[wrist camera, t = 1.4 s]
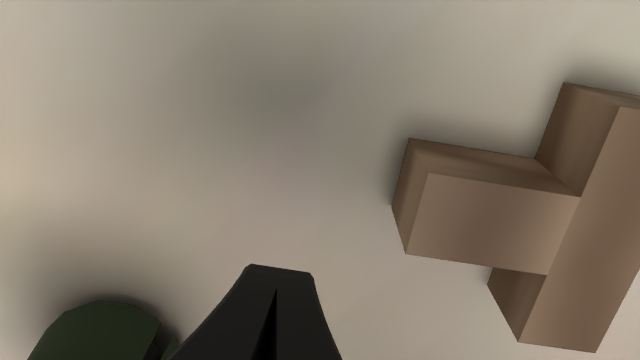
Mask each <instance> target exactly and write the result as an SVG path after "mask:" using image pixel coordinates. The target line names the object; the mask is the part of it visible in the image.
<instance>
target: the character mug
mask: <svg viewBox="0 0 640 360" xmlns="http://www.w3.org/2000/svg"><path fill="white" fill-rule="evenodd" d="M160 324H161V323H160V322H159V321H158V319H157V318H156V317H154V316H152V315H149V314H147V313H145V312H143V311H141V310H139V309H137V308H135V307H133V306H131V305H129V304H121V303H112V302H103V301H94V302H91V303H89V304H86V305H83V306H80V307H77V308H75V309H72V310H69V311H66V312H64V313H63V314H62V315H61V316H60V317H59V318H58V319H57V320H56V321H55V322H54V323H53V324H52V325H51V326H50V327H48V328H47V330H46V331H45V333H44V334H43V336H42V337H41V339H40V340H39V342H38V343H37V345H36V347H35V348H34V350H33V351H32V353H31V354H30V356H29V357H28V359H27V360H166V359H167V358H168V357H169V356H170V355H171V354H172V353H173V352H174V351H175V350H176V349H177V348H178V347H179V345H178V342H177V341H176V340H175V339H174V338H172V340H171V342H170V343H169V345H168V347H167V349H166V351H165V352H164V354H163V356H162V358H161V357H160V355H159V353H158V351H157V349H156V347H155V346H154V345H152V344H151V342H152V340H153V338H154V336H155V334H156V332H157V330H158V328H159V326H160Z"/></svg>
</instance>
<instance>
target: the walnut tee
mask: <svg viewBox="0 0 640 360" xmlns="http://www.w3.org/2000/svg"><path fill="white" fill-rule="evenodd" d="M391 208H392V211H393V214H394V218H395V221H396V224H397V228H398V231H399V234H400V237H401V241H402V244H403V247H404V251H405V254H409V255H416V256H422V257H429V258H436V259H442V260H449V261H456V262H462V263H469V264H476V265H482V266H489V267H494V268H493V271H492V274H491V276H490V279H489V282H488V284H487V286H488V288H489V289H490V291H491V293H492V295H493V297H494V299H495V301H496V302H497V304H498V306H499V308H500V310H501V312H502V314H503V315H504V317H505V319H506V321H507V323H508V325H509V326H510V328H511V330H512V332H513V334H514V336H515V338H516V339H517V341H518V342H519V343H527V344H534V345H541V346H548V347H555V348H562V349H570V350H577V351H584V352H591V353H596V351H597V349H598V347H599V345H600V343H601V341H602V339H603V337H604V335H605V334H606V332H607V330H608V328H609V326H610V324H611V322H612V320H613V318H614V316H615V314H616V313H617V311H618V309H619V307H620V305H621V303H622V301H623V299H624V297H625V295H626V293H627V292H628V290H629V288H630V286H631V284H632V282H633V280H634V278H635V276H636V274H637V272H638V271H639V269H640V96H636V95H630V94H625V93H619V92H614V91H608V90H602V89H597V88H591V87H586V86H580V85H574V84H569V83H563V85H562V88H561V90H560V93H559V96H558V98H557V101H556V104H555V106H554V109H553V112H552V114H551V117H550V119H549V122H548V125H547V127H546V130H545V133H544V135H543V138H542V141H541V143H540V146H539V149H538V151H537V154H536V157H535V159H532V158H526V157H520V156H514V155H508V154H502V153H496V152H490V151H484V150H478V149H472V148H466V147H460V146H454V145H448V144H442V143H436V142H430V141H424V140H417V139H411V138H409V141H408V145H407V149H406V153H405V157H404V160H403V164H402V168H401V172H400V176H399V180H398V184H397V188H396V192H395V195H394V199H393V203H392V207H391Z"/></svg>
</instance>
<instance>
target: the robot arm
mask: <svg viewBox="0 0 640 360" xmlns="http://www.w3.org/2000/svg"><path fill="white" fill-rule="evenodd" d="M166 360H342V358H341V355H340V353H339V351H338V349H337V346H336V344H335V342H334V339H333V337H332V334H331V332H330V330H329V327H328V325H327V322H326V319H325V317H324V314H323V311H322V308H321V305H320V302H319V299H318V295H317V292H316V287H315V283H314V278H313V277H312V275H311V274H310V273H308V272H302V271H295V270H289V269H282V268H276V267H269V266H263V265H256V264H250V265H248V266H247V267H245V268H244V270H243V272H242V274H241V275H240V277H239V278H238V280H237V281H236V282H235V284H234V285H233V287H232V288H231V289H230V291H229V292H228V293H227V294H226V296H225V297H224V298H223V299H222V301H221V302H220V303H219V304H218V305H217V306H216V308H215V309H214V310H213V311H212V312H211V313H210V314H209V316H208V317H207V318H206V319H205V320H204V321H203V322H202V324H201V325H200V326H199V327H198V328H197V329H196V330H195V331H194V332H193V333H192V334H191V335H190V336H189V337H188V338H187V339H186V340H185V341H184V342H183V343H182V344H181V345H180V346H179V347H178V348H177V349H176V350H175V351H174V352H173V353H172V354H171V355H170V356H169V357H168V358H167V359H166Z"/></svg>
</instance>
